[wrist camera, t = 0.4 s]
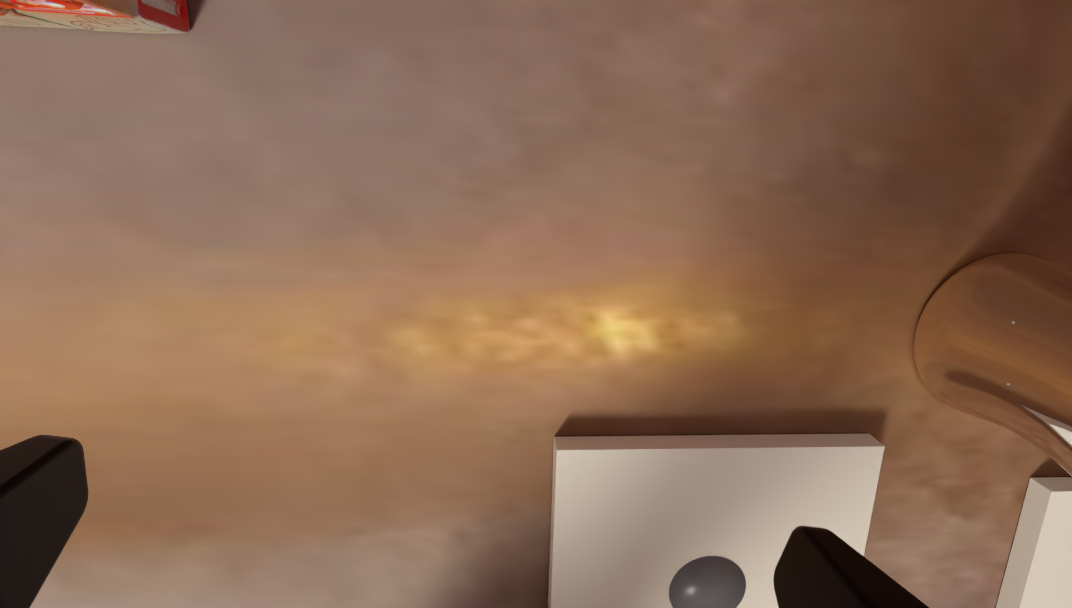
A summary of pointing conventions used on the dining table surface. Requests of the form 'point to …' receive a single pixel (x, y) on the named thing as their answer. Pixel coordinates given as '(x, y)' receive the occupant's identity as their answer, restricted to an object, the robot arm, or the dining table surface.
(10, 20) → the stack of blocks
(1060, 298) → the beer glass
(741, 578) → the one-dot tile
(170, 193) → the dining table surface
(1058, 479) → the two-dot tile
